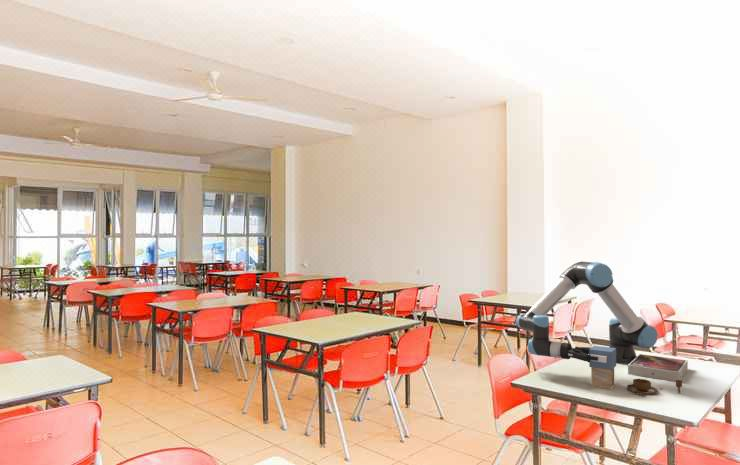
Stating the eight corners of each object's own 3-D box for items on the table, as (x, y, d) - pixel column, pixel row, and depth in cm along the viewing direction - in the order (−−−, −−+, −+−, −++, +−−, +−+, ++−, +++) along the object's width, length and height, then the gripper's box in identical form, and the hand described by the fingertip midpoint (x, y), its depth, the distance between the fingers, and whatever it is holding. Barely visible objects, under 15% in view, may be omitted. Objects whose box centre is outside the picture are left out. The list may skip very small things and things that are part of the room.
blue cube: (594, 362, 235) (594, 345, 235) (616, 365, 229) (616, 348, 229) (589, 366, 227) (589, 349, 227) (611, 370, 222) (611, 352, 222)
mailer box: (595, 381, 234) (595, 347, 234) (614, 384, 229) (614, 349, 229) (591, 385, 227) (591, 350, 227) (610, 388, 223) (610, 352, 223)
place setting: (633, 384, 230) (633, 371, 230) (684, 394, 216) (683, 380, 216) (621, 393, 217) (620, 380, 217) (673, 404, 203) (673, 389, 203)
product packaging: (628, 375, 245) (627, 364, 246) (640, 363, 267) (639, 354, 267) (679, 383, 232) (679, 372, 232) (687, 370, 254) (687, 360, 254)
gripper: (568, 353, 249) (615, 359, 236) (553, 363, 229) (603, 370, 216) (568, 338, 249) (615, 343, 236) (553, 347, 229) (603, 353, 217)
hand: (609, 356), depth 226 cm, fingers open, 13 cm apart
